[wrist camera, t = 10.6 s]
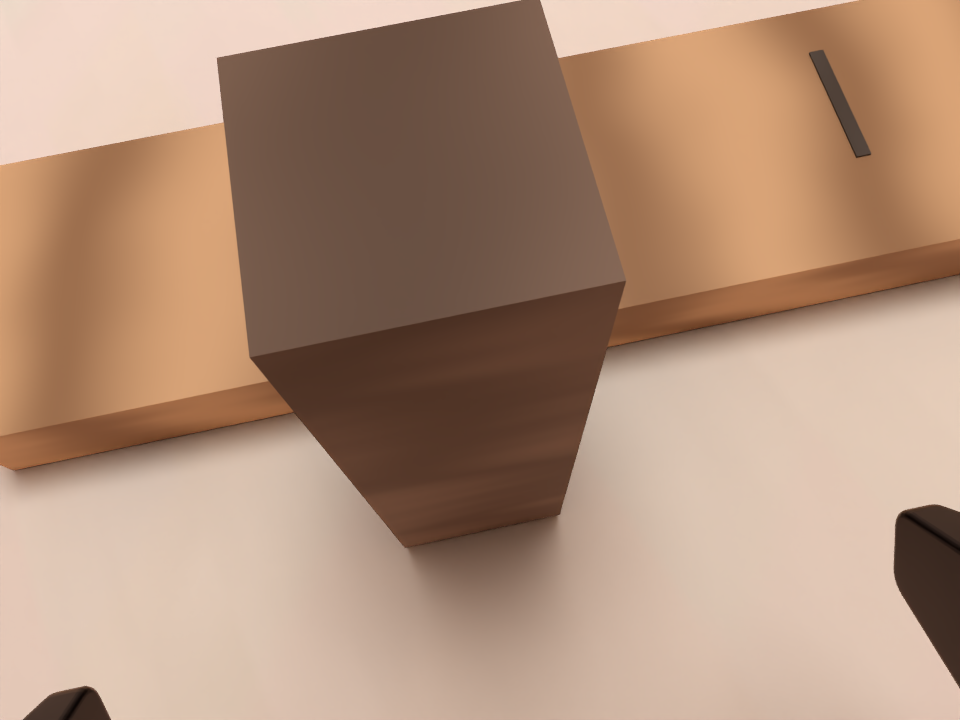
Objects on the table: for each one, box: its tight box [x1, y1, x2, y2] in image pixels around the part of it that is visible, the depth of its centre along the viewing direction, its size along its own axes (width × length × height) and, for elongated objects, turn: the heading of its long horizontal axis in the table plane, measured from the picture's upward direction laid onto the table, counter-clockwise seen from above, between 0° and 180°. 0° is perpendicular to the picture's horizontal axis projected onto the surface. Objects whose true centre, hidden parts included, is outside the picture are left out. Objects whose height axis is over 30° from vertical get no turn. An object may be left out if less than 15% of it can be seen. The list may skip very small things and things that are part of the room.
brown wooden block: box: [217, 0, 626, 548], centre depth 17 cm, size 4×12×13 cm, turn 12°
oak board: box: [0, 0, 960, 470], centre depth 23 cm, size 36×8×3 cm, turn 102°
